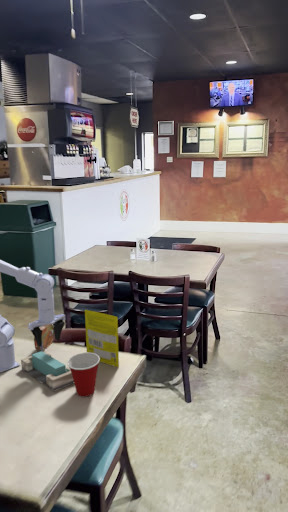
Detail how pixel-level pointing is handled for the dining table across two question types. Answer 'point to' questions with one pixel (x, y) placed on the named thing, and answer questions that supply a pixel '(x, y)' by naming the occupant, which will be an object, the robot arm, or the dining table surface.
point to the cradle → (50, 379)
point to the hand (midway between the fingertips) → (48, 342)
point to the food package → (102, 336)
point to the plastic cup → (84, 372)
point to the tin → (45, 337)
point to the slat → (47, 364)
